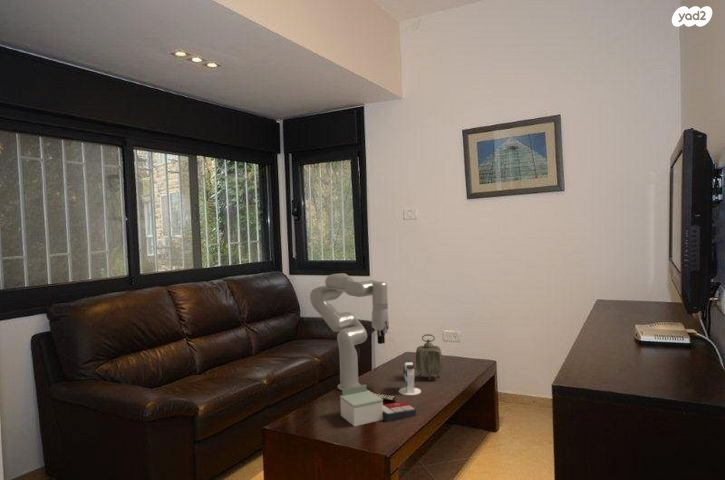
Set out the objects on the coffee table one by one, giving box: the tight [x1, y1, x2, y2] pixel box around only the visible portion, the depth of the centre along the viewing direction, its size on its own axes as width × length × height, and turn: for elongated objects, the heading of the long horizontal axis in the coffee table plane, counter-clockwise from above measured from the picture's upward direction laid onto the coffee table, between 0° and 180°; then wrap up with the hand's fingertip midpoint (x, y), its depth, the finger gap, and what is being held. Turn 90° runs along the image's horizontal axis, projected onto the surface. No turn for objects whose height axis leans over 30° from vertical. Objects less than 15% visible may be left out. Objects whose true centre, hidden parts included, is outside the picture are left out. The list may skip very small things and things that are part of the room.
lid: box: [339, 384, 384, 407], centre depth 214 cm, size 14×14×4 cm
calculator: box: [383, 401, 417, 423], centre depth 217 cm, size 11×4×15 cm
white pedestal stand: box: [398, 359, 422, 396], centre depth 247 cm, size 12×11×15 cm
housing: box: [339, 397, 384, 427], centre depth 214 cm, size 14×14×8 cm
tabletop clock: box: [415, 333, 443, 381], centre depth 266 cm, size 14×9×25 cm, turn 84°
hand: (381, 343), depth 239 cm, fingers closed
